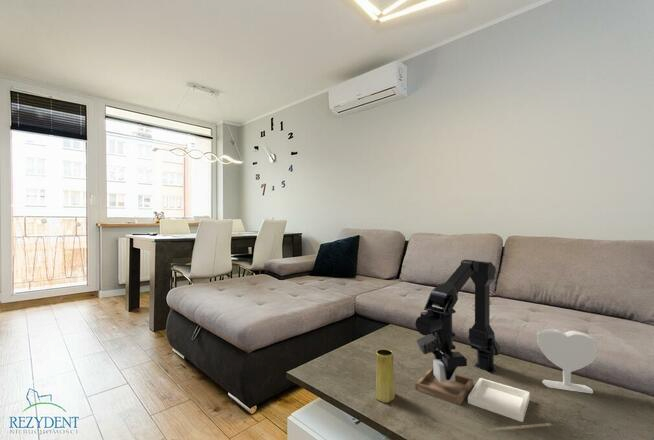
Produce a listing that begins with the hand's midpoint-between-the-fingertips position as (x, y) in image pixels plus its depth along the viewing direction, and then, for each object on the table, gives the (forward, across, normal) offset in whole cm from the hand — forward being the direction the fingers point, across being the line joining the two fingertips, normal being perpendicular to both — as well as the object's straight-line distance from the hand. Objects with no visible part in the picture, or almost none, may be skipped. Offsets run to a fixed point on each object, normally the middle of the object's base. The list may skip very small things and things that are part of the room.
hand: (444, 375), depth 101 cm
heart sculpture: (+5, +4, +40) cm, 41 cm away
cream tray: (+4, +9, +13) cm, 16 cm away
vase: (+5, +2, -20) cm, 21 cm away
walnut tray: (+4, 0, 0) cm, 4 cm away
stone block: (+1, 0, 0) cm, 1 cm away
